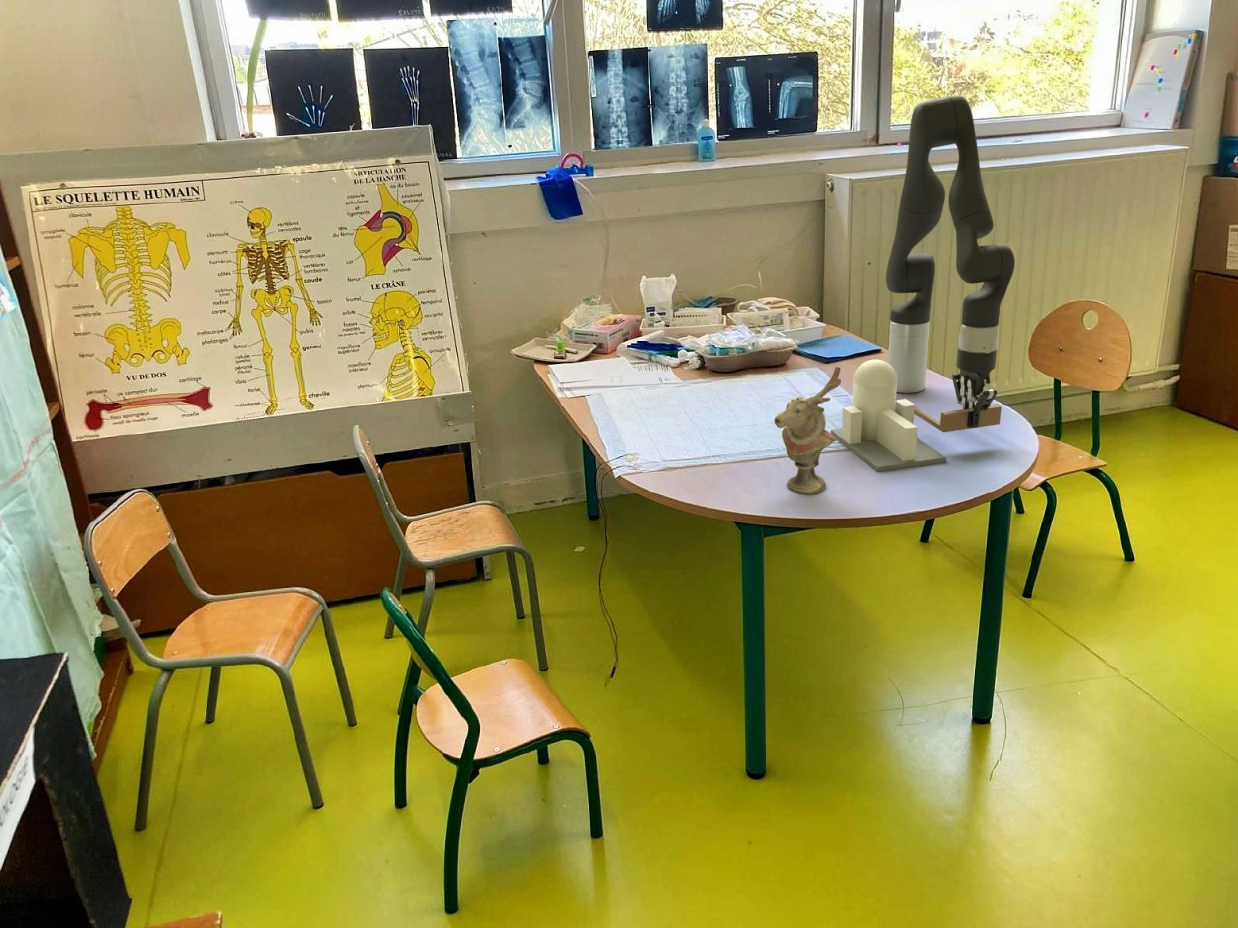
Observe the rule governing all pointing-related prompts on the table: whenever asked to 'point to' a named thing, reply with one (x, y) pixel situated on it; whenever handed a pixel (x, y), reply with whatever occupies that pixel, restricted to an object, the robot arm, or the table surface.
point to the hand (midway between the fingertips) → (970, 425)
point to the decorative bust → (807, 437)
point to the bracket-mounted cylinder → (882, 422)
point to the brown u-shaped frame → (962, 418)
